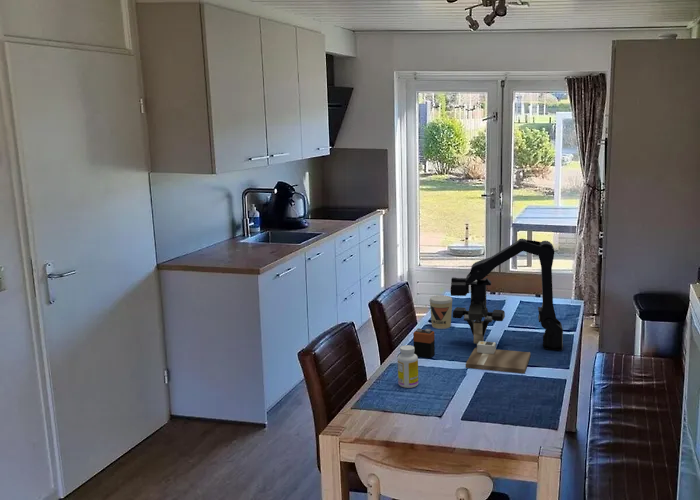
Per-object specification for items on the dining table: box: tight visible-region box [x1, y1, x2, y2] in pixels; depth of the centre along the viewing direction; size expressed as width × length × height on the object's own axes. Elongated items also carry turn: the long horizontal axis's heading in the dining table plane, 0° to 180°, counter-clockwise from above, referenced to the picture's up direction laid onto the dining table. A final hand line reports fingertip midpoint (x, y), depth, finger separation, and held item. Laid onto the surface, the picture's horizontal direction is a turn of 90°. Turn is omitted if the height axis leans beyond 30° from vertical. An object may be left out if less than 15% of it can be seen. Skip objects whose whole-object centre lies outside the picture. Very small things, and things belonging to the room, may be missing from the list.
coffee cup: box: [429, 294, 453, 330], centre depth 289 cm, size 9×9×12 cm
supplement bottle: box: [397, 344, 419, 389], centre depth 230 cm, size 7×7×13 cm
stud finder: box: [476, 341, 497, 354], centre depth 254 cm, size 6×4×3 cm, turn 69°
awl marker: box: [473, 320, 485, 345], centre depth 265 cm, size 3×3×9 cm
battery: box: [412, 327, 436, 359], centre depth 257 cm, size 4×7×10 cm, turn 61°
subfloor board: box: [465, 347, 532, 374], centre depth 248 cm, size 20×17×2 cm
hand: (478, 335), depth 266 cm, fingers closed on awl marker, 3 cm apart
